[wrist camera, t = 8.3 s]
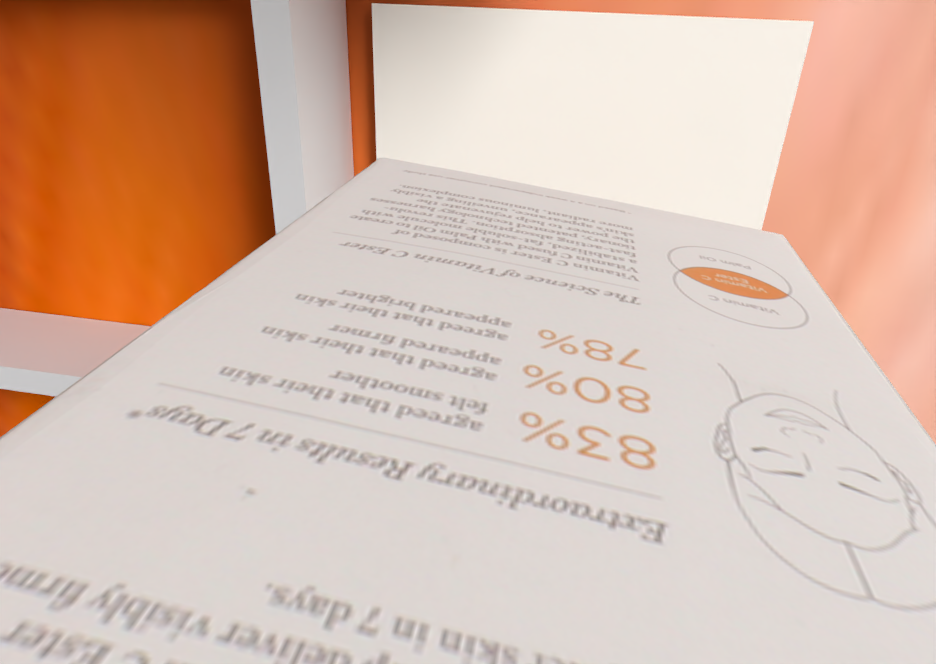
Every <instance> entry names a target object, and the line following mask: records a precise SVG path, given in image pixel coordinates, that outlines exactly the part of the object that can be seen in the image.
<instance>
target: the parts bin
mask: <svg viewBox="0 0 936 664" xmlns="http://www.w3.org/2000/svg"><path fill="white" fill-rule="evenodd" d="M251 9H252V18H253V28H254V37H255V46H256V55H257V64H258V74H259V83H260V92H261V101H262V111H263V120H264V129H265V138H266V147H267V157H268V166H269V175H270V184H271V194H272V203H273V212H274V221H275V230H276V234H278V233H279V232H280V231H282V230H283V229H284V228H286V227H287V226H288V225H290V224H291V223H293V222H294V221H295V220H297V219H298V218H299V217H301V216H302V215H303V214H305V213H306V212H307V211H309V210H310V209H312V208H313V207H314V206H315V205H317V204H318V203H319V202H321V201H322V200H323V199H325V198H326V197H328V196H329V195H330V194H332V193H333V192H335V191H336V190H337V189H339V188H340V187H341V186H343V185H344V184H345V183H347V182H348V181H349V180H351V179H352V178H353V177H354V166H353V145H352V125H351V104H350V83H349V62H348V42H347V21H346V0H251ZM150 327H151V326H143V325H135V324H127V323H118V322H110V321H102V320H94V319H86V318H78V317H70V316H62V315H53V314H45V313H37V312H29V311H21V310H13V309H5V308H0V389H7V390H14V391H21V392H28V393H35V394H42V395H49V396H57V395H59V394H60V393H62V392H63V391H64V390H66V389H67V388H68V387H70V386H71V385H72V384H74V383H75V382H77V381H78V380H79V379H81V378H82V377H83V376H85V375H86V374H87V373H89V372H90V371H91V370H93V369H94V368H96V367H97V366H98V365H100V364H101V363H102V362H104V361H105V360H106V359H108V358H109V357H110V356H112V355H113V354H115V353H116V352H117V351H119V350H120V349H121V348H123V347H124V346H125V345H127V344H128V343H130V342H131V341H132V340H134V339H135V338H136V337H138V336H139V335H140V334H142V333H143V332H144V331H146V330H147V329H149V328H150Z"/></svg>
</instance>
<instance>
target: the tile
mask: <svg viewBox="0 0 936 664" xmlns="http://www.w3.org/2000/svg"><path fill="white" fill-rule="evenodd" d="M813 24H814V21H801V20H777V19H752V18H728V17H704V16H680V15H655V14H631V13H607V12H583V11H558V10H534V9H510V8H486V7H461V6H437V5H413V4H389V3H372V32H373V64H374V95H375V127H376V158H377V159H379V158H390V159H395V160H400V161H406V162H411V163H417V164H422V165H428V166H434V167H439V168H445V169H450V170H456V171H461V172H467V173H472V174H477V175H482V176H487V177H493V178H498V179H503V180H508V181H514V182H519V183H524V184H529V185H534V186H539V187H544V188H549V189H554V190H560V191H565V192H570V193H575V194H580V195H586V196H591V197H596V198H602V199H607V200H612V201H617V202H622V203H627V204H632V205H637V206H643V207H648V208H653V209H658V210H663V211H668V212H673V213H678V214H683V215H688V216H693V217H698V218H703V219H708V220H713V221H718V222H723V223H727V224H732V225H737V226H742V227H747V228H752V229H757V230H762V226H763V222H764V218H765V214H766V210H767V206H768V202H769V198H770V194H771V190H772V186H773V182H774V178H775V174H776V170H777V166H778V162H779V158H780V154H781V150H782V146H783V143H784V139H785V135H786V131H787V127H788V123H789V119H790V115H791V111H792V107H793V103H794V99H795V95H796V91H797V87H798V83H799V79H800V75H801V71H802V67H803V63H804V59H805V55H806V52H807V48H808V44H809V40H810V36H811V32H812V28H813Z"/></svg>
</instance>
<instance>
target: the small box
mask: <svg viewBox="0 0 936 664" xmlns="http://www.w3.org/2000/svg"><path fill="white" fill-rule="evenodd" d="M0 664H936V444H935V443H934V442H933V440H932V439H931V438H930V436H929V435H928V433H927V432H926V431H925V429H924V428H923V426H922V425H921V424H920V422H919V421H918V420H917V418H916V417H915V415H914V414H913V413H912V411H911V410H910V409H909V407H908V406H907V404H906V403H905V402H904V400H903V399H902V398H901V396H900V395H899V393H898V392H897V391H896V389H895V388H894V387H893V385H892V384H891V382H890V381H889V380H888V378H887V377H886V376H885V374H884V373H883V371H882V370H881V369H880V367H879V366H878V365H877V363H876V362H875V361H874V359H873V358H872V356H871V355H870V354H869V352H868V351H867V350H866V348H865V347H864V345H863V344H862V343H861V341H860V340H859V339H858V337H857V336H856V334H855V333H854V332H853V330H852V329H851V328H850V326H849V325H848V323H847V322H846V321H845V319H844V318H843V317H842V315H841V314H840V312H839V311H838V310H837V308H836V307H835V306H834V304H833V303H832V301H831V300H830V299H829V297H828V296H827V295H826V293H825V292H824V291H823V289H822V288H821V286H820V285H819V284H818V282H817V281H816V280H815V278H814V277H813V276H812V274H811V273H810V271H809V270H808V269H807V267H806V266H805V265H804V263H803V262H802V260H801V259H800V258H799V256H798V255H797V253H796V252H795V250H794V249H793V248H792V246H791V245H790V243H789V242H788V241H787V239H786V238H785V237H784V236H783V235H781V234H777V233H773V232H768V231H763V230H757V229H752V228H747V227H742V226H737V225H732V224H727V223H723V222H718V221H713V220H708V219H703V218H698V217H693V216H688V215H683V214H678V213H673V212H668V211H663V210H658V209H653V208H648V207H643V206H637V205H632V204H627V203H622V202H617V201H612V200H607V199H602V198H596V197H591V196H586V195H580V194H575V193H570V192H565V191H560V190H554V189H549V188H544V187H539V186H534V185H529V184H524V183H519V182H514V181H508V180H503V179H498V178H493V177H487V176H482V175H477V174H472V173H467V172H461V171H456V170H450V169H445V168H439V167H434V166H428V165H422V164H417V163H411V162H406V161H400V160H395V159H390V158H379V159H377V160H376V161H375V162H373V163H372V164H371V165H370V166H369V167H367V168H366V169H364V170H363V171H361V172H360V173H359V174H357V175H356V176H355V177H353V178H352V179H351V180H349V181H348V182H347V183H345V184H344V185H343V186H341V187H340V188H339V189H337V190H336V191H335V192H333V193H332V194H330V195H329V196H328V197H326V198H325V199H323V200H322V201H321V202H319V203H318V204H317V205H315V206H314V207H313V208H312V209H310V210H309V211H307V212H306V213H305V214H303V215H302V216H301V217H299V218H298V219H297V220H295V221H294V222H293V223H291V224H290V225H288V226H287V227H286V228H284V229H283V230H282V231H280V232H279V233H278V234H276V235H275V236H273V237H272V238H271V239H269V240H268V241H267V242H265V243H264V244H263V245H261V246H260V247H259V248H257V249H256V250H254V251H253V252H252V253H250V254H249V255H248V256H246V257H245V258H244V259H242V260H241V261H239V262H238V263H237V264H235V265H234V266H233V267H231V268H230V269H229V270H227V271H226V272H225V273H223V274H222V275H221V276H219V277H218V278H217V279H215V280H214V281H213V282H211V283H210V284H209V285H207V286H206V287H205V288H203V289H202V290H200V291H199V292H197V293H196V294H194V295H193V296H192V297H191V298H189V299H188V300H187V301H185V302H184V303H183V304H181V305H180V306H179V307H177V308H176V309H174V310H173V311H172V312H170V313H169V314H167V315H166V316H165V317H163V318H162V319H161V320H159V321H158V322H157V323H155V324H154V325H153V326H151V327H150V328H149V329H147V330H146V331H144V332H143V333H142V334H140V335H139V336H138V337H136V338H135V339H134V340H132V341H131V342H130V343H128V344H127V345H125V346H124V347H123V348H121V349H120V350H119V351H117V352H116V353H115V354H113V355H112V356H110V357H109V358H108V359H106V360H105V361H104V362H102V363H101V364H100V365H98V366H97V367H96V368H94V369H93V370H91V371H90V372H89V373H87V374H86V375H85V376H83V377H82V378H81V379H79V380H78V381H77V382H75V383H74V384H72V385H71V386H70V387H68V388H67V389H66V390H64V391H63V392H62V393H60V394H59V395H57V396H56V397H55V398H53V399H52V400H51V401H49V402H48V403H47V404H45V405H44V406H43V407H41V408H40V409H38V410H37V411H36V412H34V413H33V414H32V415H30V416H29V417H28V418H26V419H25V420H24V421H22V422H21V423H19V424H18V425H17V426H15V427H14V428H13V429H11V430H10V431H9V432H7V433H6V434H4V435H3V436H2V437H0Z"/></svg>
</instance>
